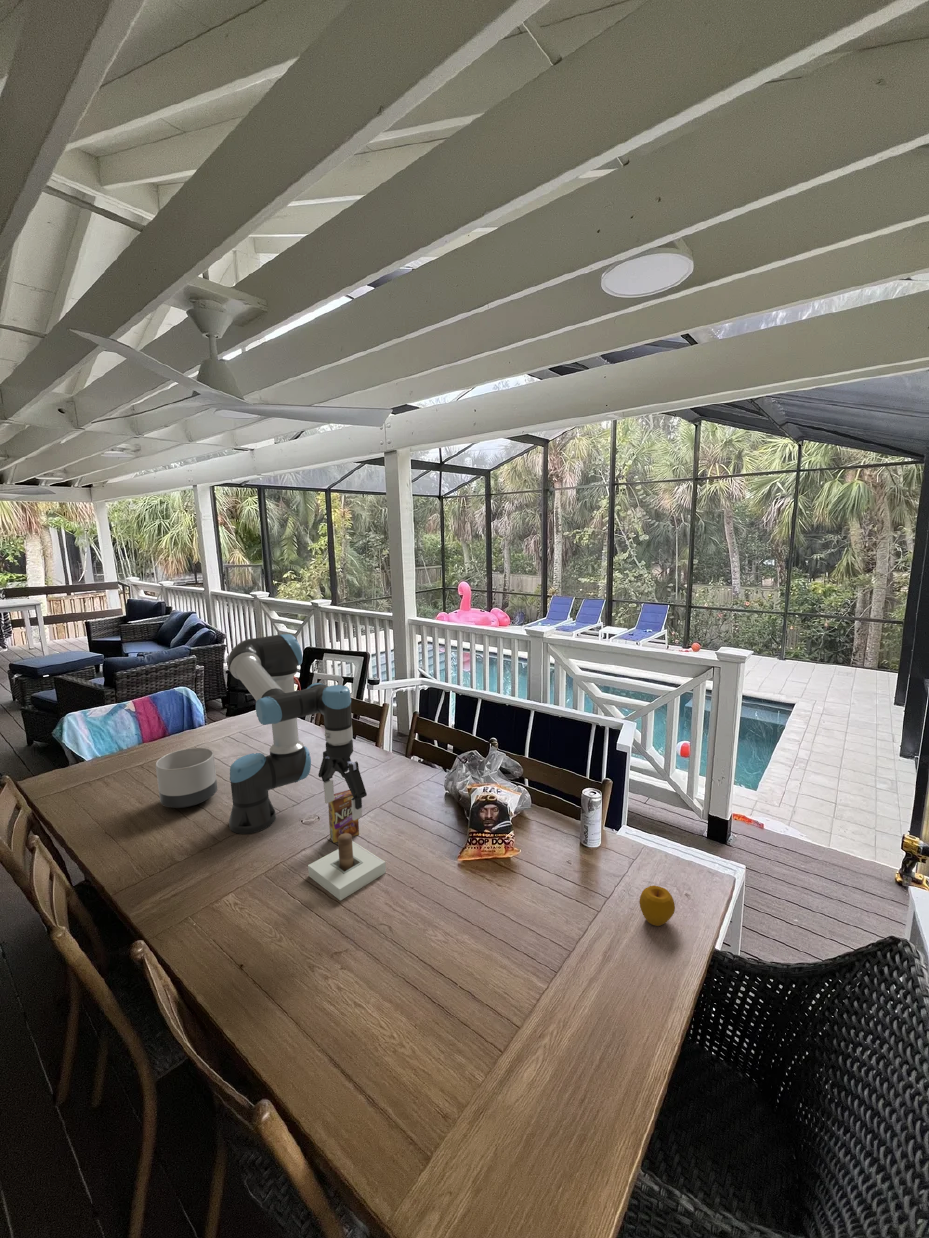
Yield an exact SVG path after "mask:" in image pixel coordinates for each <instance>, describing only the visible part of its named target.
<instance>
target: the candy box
mask: <svg viewBox="0 0 929 1238" xmlns="http://www.w3.org/2000/svg"><path fill="white" fill-rule="evenodd" d="M351 798H353V796H352V793H351V791H350V789H346V790H344V791H340V792H337V793H334V800H333V801H331V802H329V803H327V805H328V825H329V838H330V839H331V841H332V842H333V843H334V844H336V843H338V837H339V836H340V835H341V834H344V833H349V834H351V835H352V838H353V837H356V836H359V835H360V829H359V827H360V826H359V818H358V819H356V820H352V801H351Z"/></svg>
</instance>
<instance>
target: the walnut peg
mask: <svg viewBox="0 0 929 1238" xmlns="http://www.w3.org/2000/svg"><path fill="white" fill-rule="evenodd" d="M352 841H353V837H352V835H351V834H349V833H344V834H341V835H340V836H339V837H338V842H337V844H338V845H337V846H338V848H337V849H339V863H340V869H341V870H343V871H344V872H345V871H346V870H348V869H350V868H352V867H353V866H354V863H353V847H352Z"/></svg>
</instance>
